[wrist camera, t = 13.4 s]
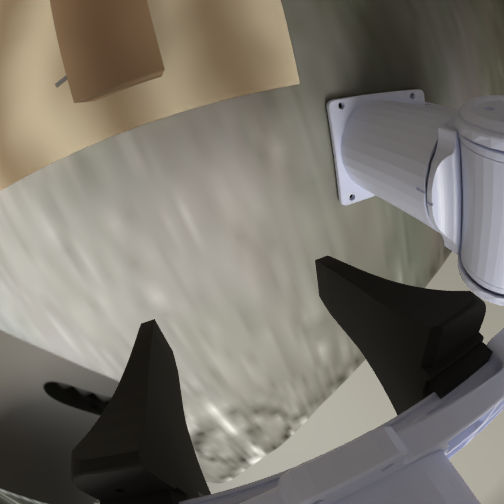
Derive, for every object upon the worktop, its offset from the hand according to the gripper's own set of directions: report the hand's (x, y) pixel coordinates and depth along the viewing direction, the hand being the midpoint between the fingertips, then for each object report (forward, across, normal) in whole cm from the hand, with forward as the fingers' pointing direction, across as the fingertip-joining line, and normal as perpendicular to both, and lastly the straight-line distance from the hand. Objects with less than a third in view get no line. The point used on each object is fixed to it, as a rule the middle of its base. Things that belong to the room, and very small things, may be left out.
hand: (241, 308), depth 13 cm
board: (+9, +2, -14) cm, 17 cm away
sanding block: (+8, +2, -14) cm, 16 cm away
